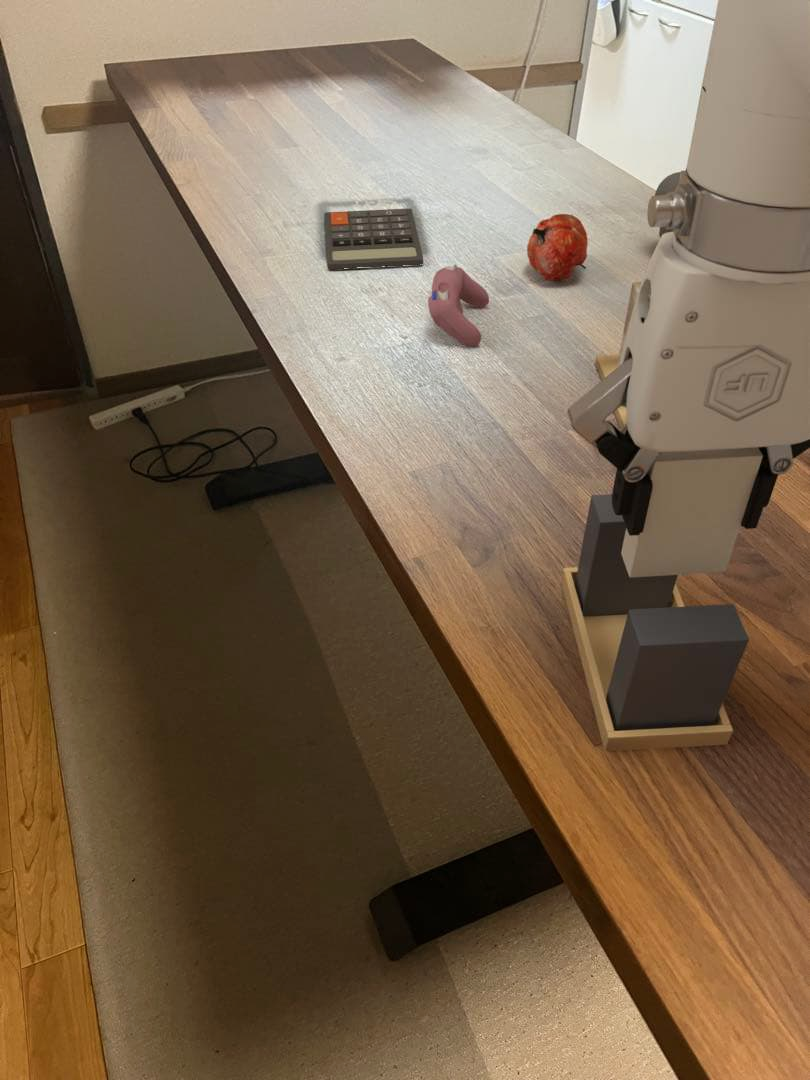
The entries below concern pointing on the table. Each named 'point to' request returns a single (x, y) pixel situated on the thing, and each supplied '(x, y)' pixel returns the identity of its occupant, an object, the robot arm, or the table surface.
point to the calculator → (371, 239)
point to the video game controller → (456, 303)
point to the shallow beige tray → (598, 659)
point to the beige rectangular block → (692, 512)
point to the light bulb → (665, 187)
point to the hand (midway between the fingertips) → (685, 514)
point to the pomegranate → (558, 247)
